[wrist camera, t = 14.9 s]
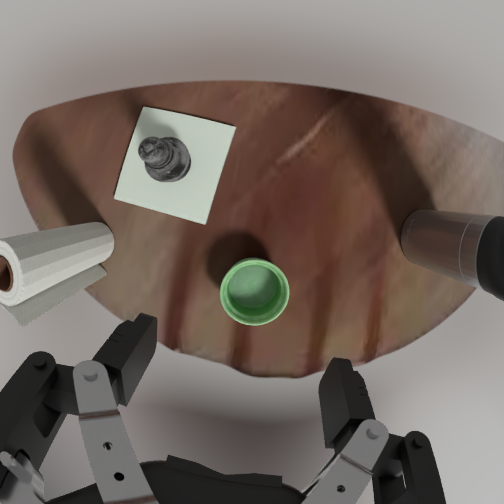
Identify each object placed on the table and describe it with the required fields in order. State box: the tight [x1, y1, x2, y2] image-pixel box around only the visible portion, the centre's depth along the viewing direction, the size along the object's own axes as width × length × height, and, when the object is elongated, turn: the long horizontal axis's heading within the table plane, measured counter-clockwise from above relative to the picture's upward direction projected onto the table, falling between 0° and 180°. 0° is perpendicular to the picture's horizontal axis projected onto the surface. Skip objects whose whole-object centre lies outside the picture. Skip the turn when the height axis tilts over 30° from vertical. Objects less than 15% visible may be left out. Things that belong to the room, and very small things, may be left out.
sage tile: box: [114, 107, 236, 225], centre depth 36 cm, size 14×14×1 cm
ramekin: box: [220, 258, 289, 325], centre depth 38 cm, size 9×9×4 cm
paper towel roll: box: [0, 222, 114, 328], centre depth 27 cm, size 7×6×21 cm
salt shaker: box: [138, 137, 191, 182], centre depth 30 cm, size 6×6×12 cm
